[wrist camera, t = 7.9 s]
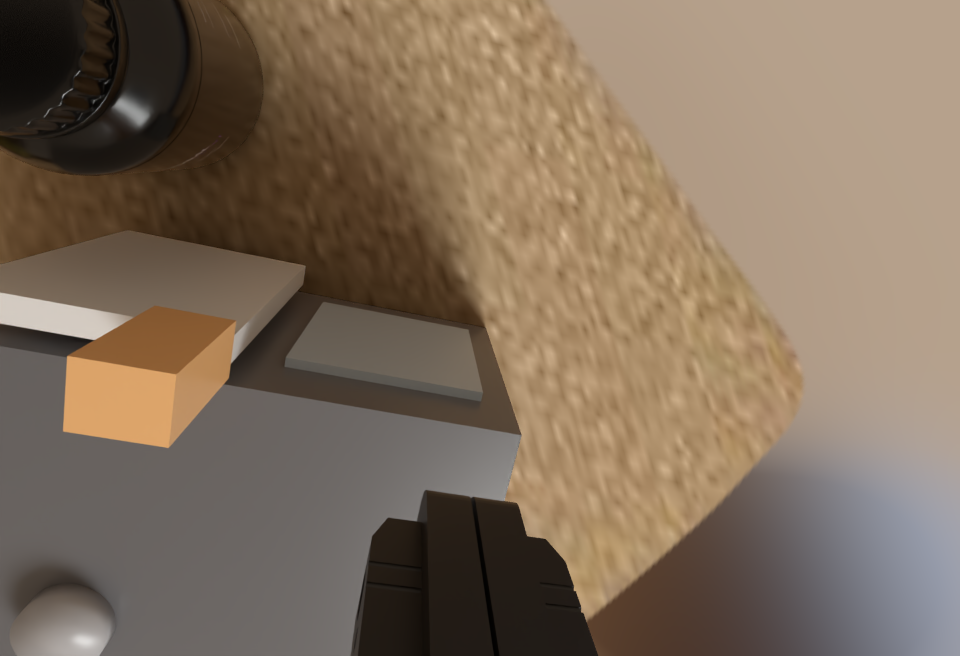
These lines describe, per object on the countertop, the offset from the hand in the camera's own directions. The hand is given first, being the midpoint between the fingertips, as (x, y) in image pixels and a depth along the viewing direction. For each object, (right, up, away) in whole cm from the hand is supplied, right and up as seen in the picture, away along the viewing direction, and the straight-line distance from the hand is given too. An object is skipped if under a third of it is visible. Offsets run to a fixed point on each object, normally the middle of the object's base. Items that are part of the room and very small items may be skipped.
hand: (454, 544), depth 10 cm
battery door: (-10, +6, +15) cm, 19 cm away
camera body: (-8, 0, +18) cm, 20 cm away
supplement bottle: (-11, +13, +14) cm, 23 cm away
